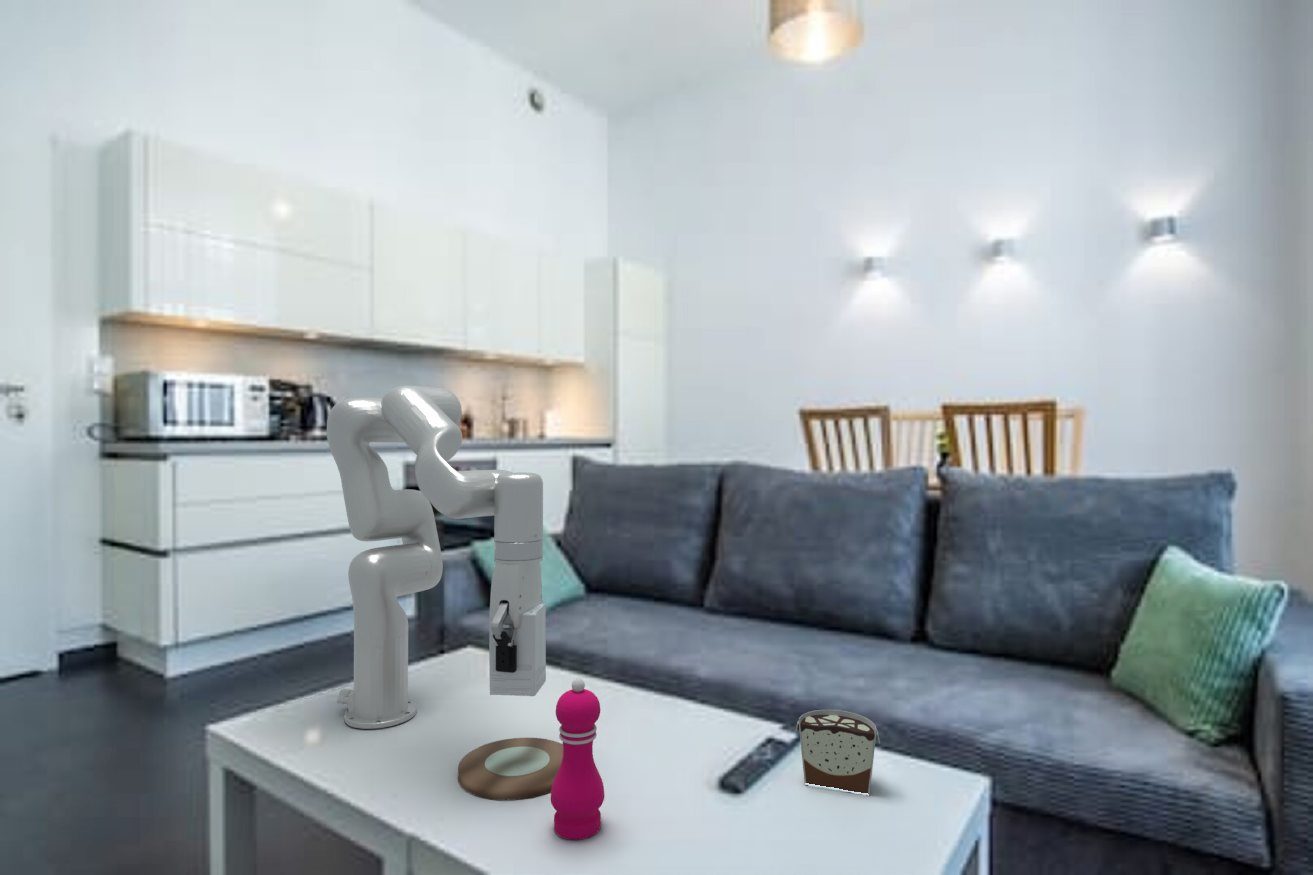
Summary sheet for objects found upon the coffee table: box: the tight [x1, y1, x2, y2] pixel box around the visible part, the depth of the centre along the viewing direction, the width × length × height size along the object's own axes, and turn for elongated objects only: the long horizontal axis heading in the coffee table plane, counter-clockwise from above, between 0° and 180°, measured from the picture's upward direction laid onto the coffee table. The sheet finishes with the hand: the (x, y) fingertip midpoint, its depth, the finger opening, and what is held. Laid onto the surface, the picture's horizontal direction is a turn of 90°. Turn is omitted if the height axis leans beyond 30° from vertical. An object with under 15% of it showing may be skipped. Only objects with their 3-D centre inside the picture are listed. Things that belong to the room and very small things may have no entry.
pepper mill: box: [550, 677, 605, 841], centre depth 96 cm, size 7×7×20 cm
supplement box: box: [488, 603, 547, 697], centre depth 112 cm, size 7×7×13 cm
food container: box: [795, 709, 881, 795], centre depth 109 cm, size 12×6×10 cm, turn 71°
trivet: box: [457, 737, 563, 801], centre depth 112 cm, size 18×18×2 cm
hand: (518, 662), depth 112 cm, fingers closed on supplement box, 8 cm apart
